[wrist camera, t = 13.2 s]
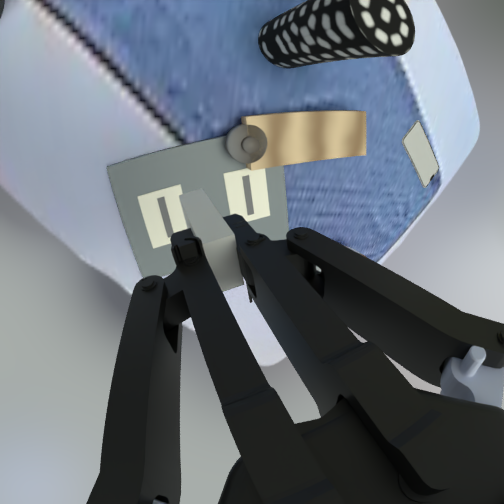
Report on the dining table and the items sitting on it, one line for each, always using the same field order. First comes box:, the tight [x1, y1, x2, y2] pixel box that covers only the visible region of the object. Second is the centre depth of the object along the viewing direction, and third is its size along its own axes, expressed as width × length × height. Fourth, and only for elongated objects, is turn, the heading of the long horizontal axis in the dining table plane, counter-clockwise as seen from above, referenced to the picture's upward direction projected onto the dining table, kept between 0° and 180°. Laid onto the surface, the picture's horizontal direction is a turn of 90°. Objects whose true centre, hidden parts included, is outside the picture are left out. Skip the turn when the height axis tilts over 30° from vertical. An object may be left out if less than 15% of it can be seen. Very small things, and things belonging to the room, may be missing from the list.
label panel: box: [107, 135, 289, 278], centre depth 39 cm, size 18×24×2 cm
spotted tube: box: [258, 0, 415, 68], centre depth 24 cm, size 8×8×20 cm
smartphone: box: [402, 120, 439, 188], centre depth 50 cm, size 7×1×15 cm
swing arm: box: [225, 110, 366, 171], centre depth 36 cm, size 22×7×3 cm, turn 96°
